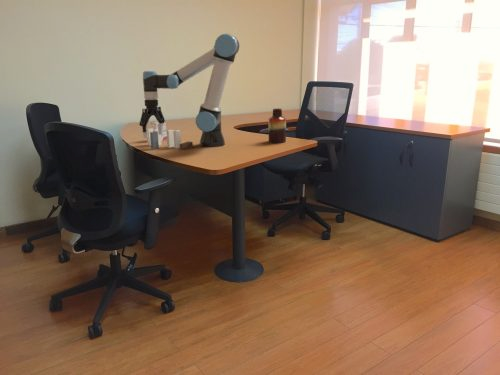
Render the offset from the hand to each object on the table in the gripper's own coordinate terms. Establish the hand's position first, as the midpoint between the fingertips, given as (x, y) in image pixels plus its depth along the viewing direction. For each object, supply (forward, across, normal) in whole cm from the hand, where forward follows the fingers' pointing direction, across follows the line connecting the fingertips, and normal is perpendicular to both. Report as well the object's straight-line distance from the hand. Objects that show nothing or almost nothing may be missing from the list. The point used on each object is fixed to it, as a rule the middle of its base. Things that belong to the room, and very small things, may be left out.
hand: (153, 136), depth 247 cm
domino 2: (+8, -9, -4) cm, 13 cm away
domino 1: (+8, -9, -10) cm, 15 cm away
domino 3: (+8, 0, 0) cm, 8 cm away
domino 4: (+7, -9, +6) cm, 13 cm away
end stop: (+7, -9, +16) cm, 20 cm away
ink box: (+8, -24, -14) cm, 29 cm away
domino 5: (+7, -9, +10) cm, 16 cm away
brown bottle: (+6, -48, +58) cm, 76 cm away
